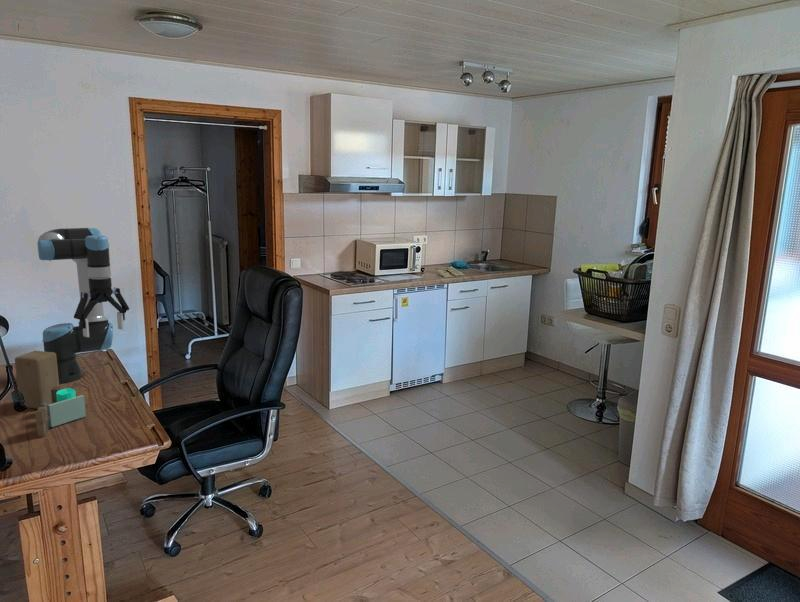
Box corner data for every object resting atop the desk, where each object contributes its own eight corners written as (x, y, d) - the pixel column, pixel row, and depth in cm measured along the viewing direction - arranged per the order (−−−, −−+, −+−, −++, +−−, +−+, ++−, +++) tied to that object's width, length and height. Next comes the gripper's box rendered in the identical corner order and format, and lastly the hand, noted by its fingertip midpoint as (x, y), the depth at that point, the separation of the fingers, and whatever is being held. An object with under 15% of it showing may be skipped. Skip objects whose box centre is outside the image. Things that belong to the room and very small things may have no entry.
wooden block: (41, 410, 215) (36, 359, 211) (18, 407, 217) (13, 357, 213) (61, 400, 225) (57, 351, 221) (40, 398, 227) (34, 349, 223)
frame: (56, 409, 217) (54, 385, 215) (62, 408, 217) (60, 385, 215) (37, 437, 194) (35, 411, 192) (44, 436, 194) (41, 410, 192)
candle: (63, 415, 212) (60, 384, 209) (80, 415, 212) (77, 384, 210) (55, 422, 206) (52, 390, 203) (73, 421, 206) (70, 390, 204)
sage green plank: (51, 427, 200) (49, 405, 199) (49, 426, 201) (47, 405, 199) (85, 416, 210) (84, 395, 209) (84, 415, 211) (82, 394, 209)
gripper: (125, 272, 225) (128, 324, 230) (59, 280, 204) (65, 338, 209) (136, 274, 221) (140, 327, 226) (71, 283, 201) (76, 341, 205)
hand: (104, 332), depth 217 cm, fingers open, 13 cm apart
